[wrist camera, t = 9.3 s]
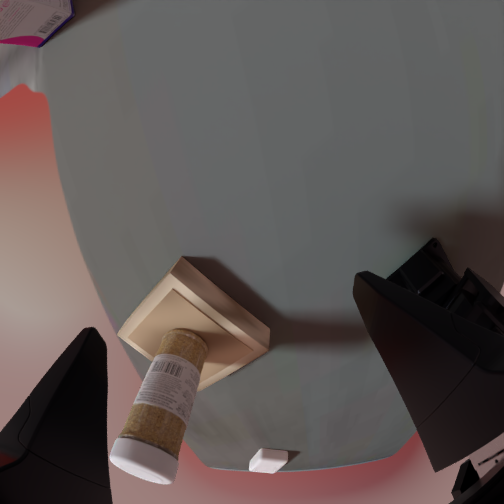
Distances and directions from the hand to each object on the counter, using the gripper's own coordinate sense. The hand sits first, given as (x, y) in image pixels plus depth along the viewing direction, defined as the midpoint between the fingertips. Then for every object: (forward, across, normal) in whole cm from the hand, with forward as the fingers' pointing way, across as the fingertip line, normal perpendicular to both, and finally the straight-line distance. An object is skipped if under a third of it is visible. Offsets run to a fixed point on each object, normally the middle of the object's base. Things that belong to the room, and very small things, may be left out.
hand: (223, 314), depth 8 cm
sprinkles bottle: (+11, +5, +13) cm, 18 cm away
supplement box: (+22, +14, -22) cm, 34 cm away
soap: (+8, +1, +50) cm, 50 cm away
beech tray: (+13, +4, +14) cm, 20 cm away
